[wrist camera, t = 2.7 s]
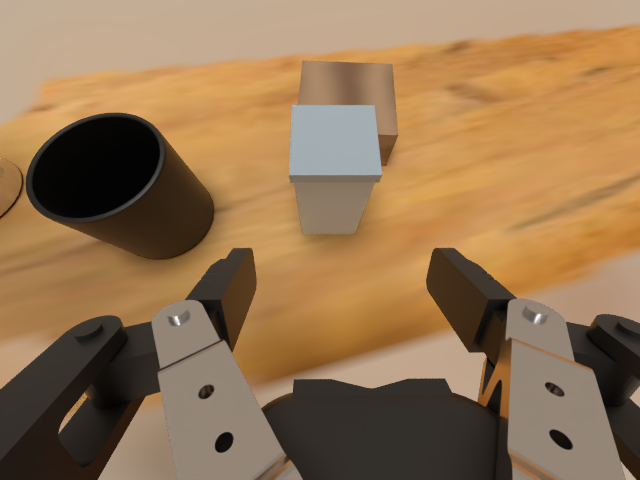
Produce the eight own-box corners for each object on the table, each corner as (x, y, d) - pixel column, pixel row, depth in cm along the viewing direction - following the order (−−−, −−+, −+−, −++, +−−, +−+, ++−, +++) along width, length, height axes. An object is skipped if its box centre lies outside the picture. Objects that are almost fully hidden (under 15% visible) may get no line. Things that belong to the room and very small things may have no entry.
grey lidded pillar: (300, 236, 25) (288, 175, 15) (301, 187, 27) (292, 105, 17) (356, 235, 25) (382, 175, 15) (353, 187, 27) (374, 105, 17)
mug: (99, 194, 27) (-4, 131, 18) (209, 171, 28) (161, 101, 19) (95, 277, 24) (-32, 248, 15) (220, 247, 25) (168, 204, 16)
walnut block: (299, 163, 28) (295, 131, 24) (304, 100, 32) (302, 60, 27) (384, 167, 28) (398, 135, 24) (381, 103, 32) (392, 64, 27)
